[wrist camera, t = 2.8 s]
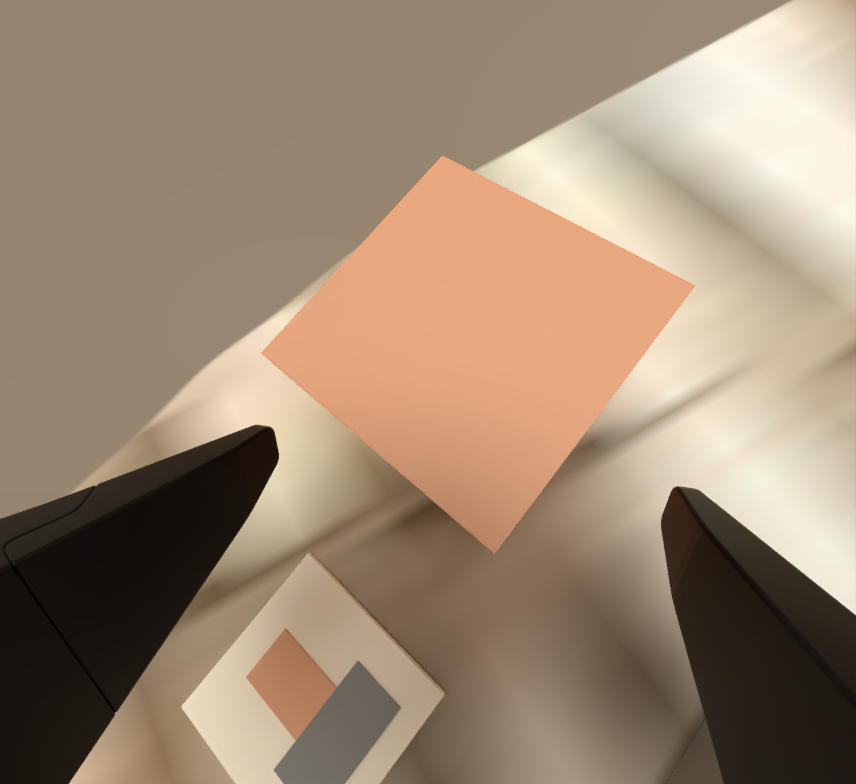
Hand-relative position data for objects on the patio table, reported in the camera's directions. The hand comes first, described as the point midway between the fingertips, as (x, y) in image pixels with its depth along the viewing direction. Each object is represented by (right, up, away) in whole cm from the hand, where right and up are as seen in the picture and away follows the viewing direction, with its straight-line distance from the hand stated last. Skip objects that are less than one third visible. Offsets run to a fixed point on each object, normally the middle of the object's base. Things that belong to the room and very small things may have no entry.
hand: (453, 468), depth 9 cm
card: (-5, -11, +8) cm, 15 cm away
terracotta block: (+2, -1, +10) cm, 10 cm away
